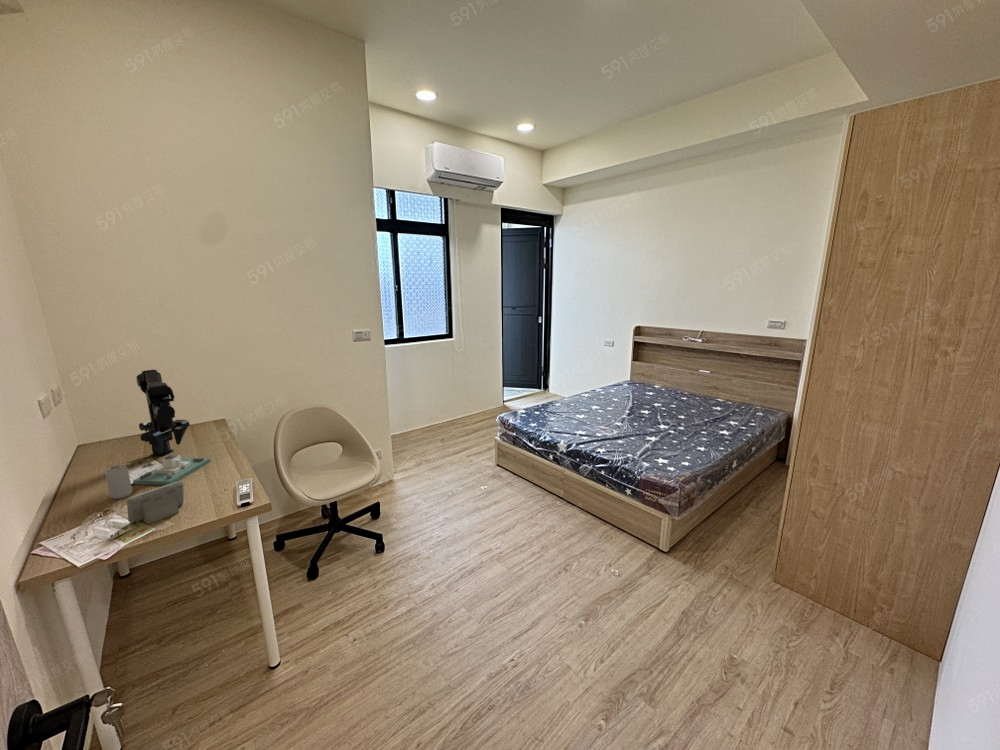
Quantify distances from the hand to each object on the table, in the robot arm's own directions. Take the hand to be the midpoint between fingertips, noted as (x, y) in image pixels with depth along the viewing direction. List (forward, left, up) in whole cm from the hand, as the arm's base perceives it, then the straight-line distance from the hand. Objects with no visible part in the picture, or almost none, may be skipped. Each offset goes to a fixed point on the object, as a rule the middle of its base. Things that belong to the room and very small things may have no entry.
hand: (169, 448), depth 174 cm
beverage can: (+20, -4, -11) cm, 23 cm away
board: (0, 0, -11) cm, 11 cm away
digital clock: (+32, +22, -12) cm, 40 cm away
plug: (0, 0, -11) cm, 11 cm away
